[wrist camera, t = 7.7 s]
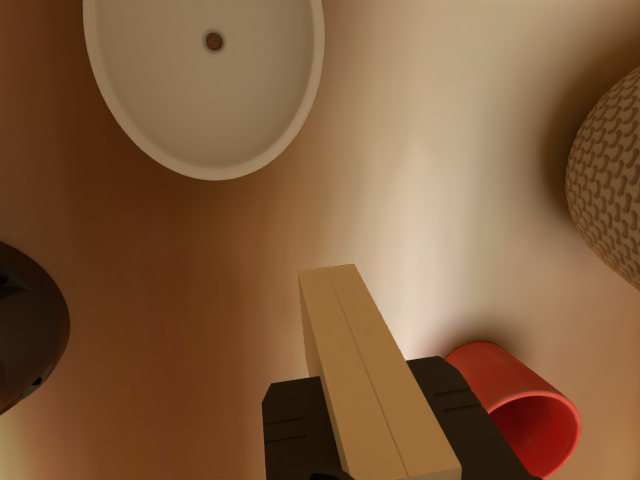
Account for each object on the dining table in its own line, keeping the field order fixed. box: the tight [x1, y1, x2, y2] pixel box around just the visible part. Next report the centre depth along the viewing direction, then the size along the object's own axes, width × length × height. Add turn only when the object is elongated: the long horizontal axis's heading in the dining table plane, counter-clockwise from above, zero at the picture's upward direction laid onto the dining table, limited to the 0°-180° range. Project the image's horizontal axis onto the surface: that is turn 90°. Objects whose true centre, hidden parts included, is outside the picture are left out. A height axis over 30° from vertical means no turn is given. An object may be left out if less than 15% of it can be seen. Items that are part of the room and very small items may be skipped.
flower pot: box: [445, 342, 582, 480], centre depth 44 cm, size 11×11×10 cm
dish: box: [83, 0, 325, 180], centre depth 31 cm, size 18×14×5 cm
